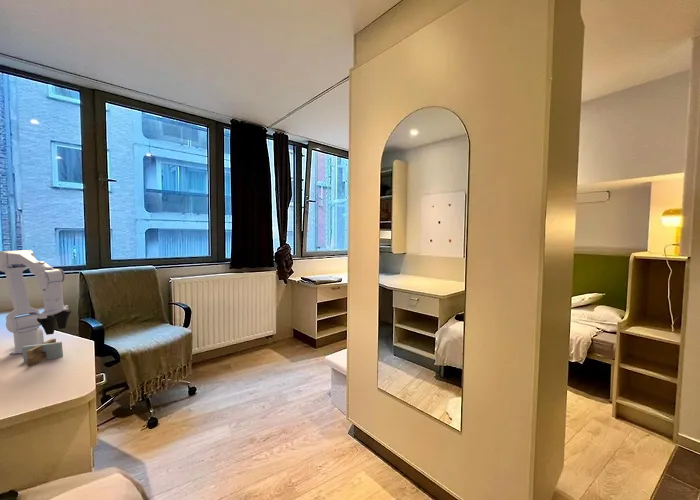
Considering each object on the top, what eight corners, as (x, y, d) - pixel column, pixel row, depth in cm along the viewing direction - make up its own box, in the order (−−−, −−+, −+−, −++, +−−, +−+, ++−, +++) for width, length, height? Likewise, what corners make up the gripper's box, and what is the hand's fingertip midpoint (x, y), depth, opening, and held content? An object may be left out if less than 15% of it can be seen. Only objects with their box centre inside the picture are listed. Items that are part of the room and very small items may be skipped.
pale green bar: (26, 360, 122) (25, 345, 122) (63, 356, 125) (61, 341, 125) (23, 361, 120) (22, 347, 120) (60, 357, 124) (59, 343, 123)
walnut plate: (52, 352, 129) (51, 339, 129) (56, 352, 130) (55, 338, 129) (28, 366, 116) (26, 351, 116) (33, 365, 116) (31, 350, 116)
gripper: (53, 301, 119) (56, 335, 119) (75, 294, 133) (78, 325, 133) (31, 303, 117) (34, 337, 117) (55, 295, 131) (58, 326, 131)
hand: (56, 331), depth 125 cm, fingers open, 7 cm apart
